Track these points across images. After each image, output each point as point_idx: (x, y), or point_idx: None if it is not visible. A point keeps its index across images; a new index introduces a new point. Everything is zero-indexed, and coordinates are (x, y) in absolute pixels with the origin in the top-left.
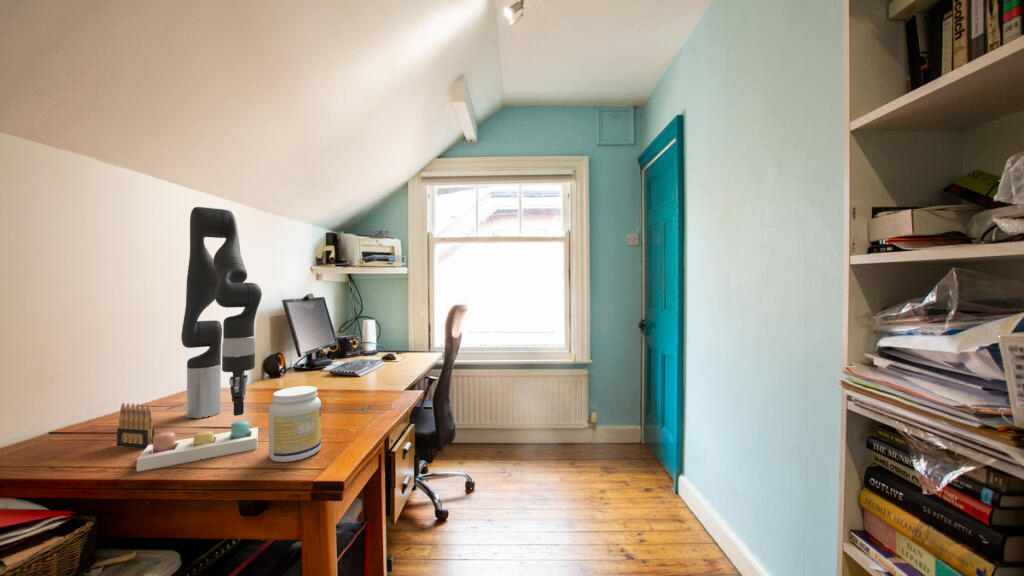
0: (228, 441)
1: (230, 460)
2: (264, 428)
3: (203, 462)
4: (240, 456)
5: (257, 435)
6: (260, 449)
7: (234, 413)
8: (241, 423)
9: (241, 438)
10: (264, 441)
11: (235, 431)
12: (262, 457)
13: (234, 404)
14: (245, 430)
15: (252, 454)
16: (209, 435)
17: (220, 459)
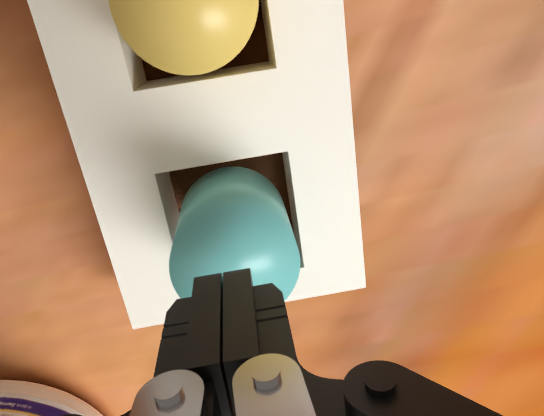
0: (126, 181)
1: (6, 203)
2: (497, 252)
3: (12, 57)
4: (55, 238)
5: None
6: None
7: (193, 291)
8: None
9: (160, 246)
10: None
11: (176, 229)
12: (9, 341)
13: (184, 360)
14: None
15: (68, 288)
16: (142, 57)
17: (37, 144)
